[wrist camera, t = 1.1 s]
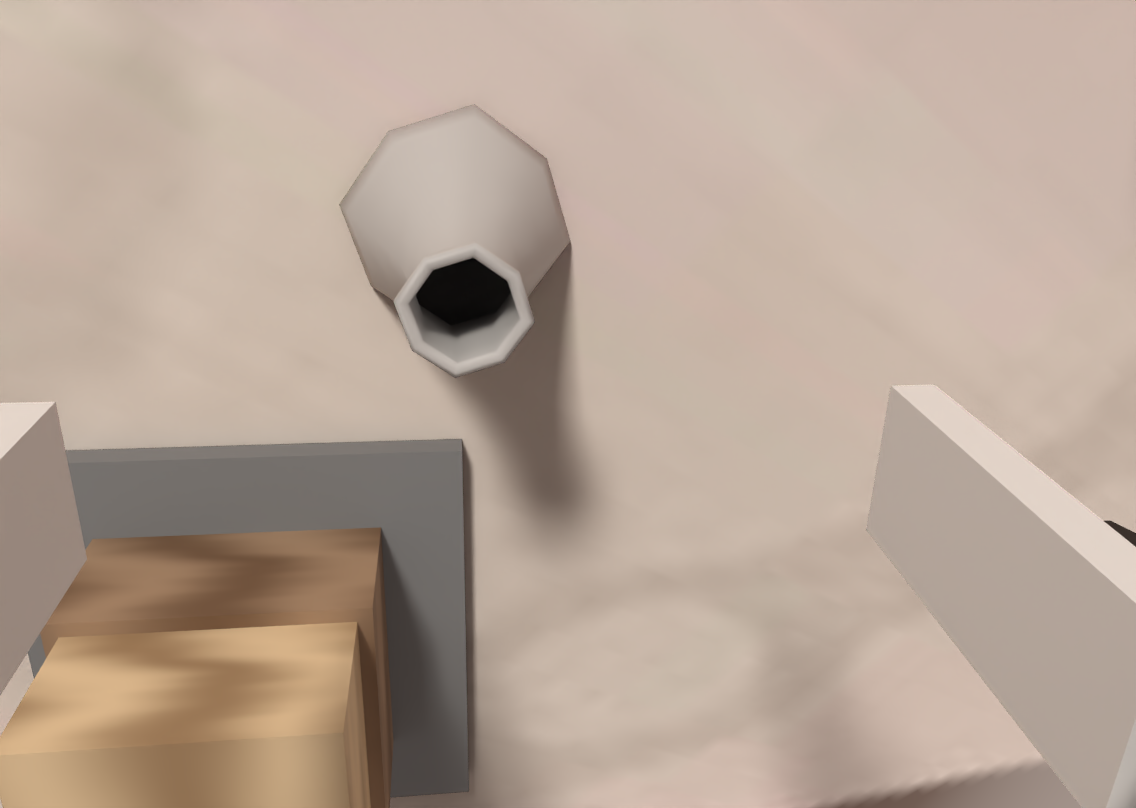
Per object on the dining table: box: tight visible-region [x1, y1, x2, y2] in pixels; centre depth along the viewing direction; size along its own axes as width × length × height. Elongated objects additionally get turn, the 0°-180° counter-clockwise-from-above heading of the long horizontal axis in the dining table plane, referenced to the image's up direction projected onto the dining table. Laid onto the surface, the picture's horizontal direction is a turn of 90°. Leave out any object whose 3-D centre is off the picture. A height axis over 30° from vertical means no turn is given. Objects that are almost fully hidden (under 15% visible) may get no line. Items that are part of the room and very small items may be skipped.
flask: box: [339, 104, 570, 378], centre depth 27 cm, size 7×7×10 cm
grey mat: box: [28, 439, 469, 797], centre depth 37 cm, size 16×16×1 cm
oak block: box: [0, 622, 371, 808], centre depth 29 cm, size 9×9×5 cm
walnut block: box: [40, 527, 393, 808], centre depth 34 cm, size 10×10×5 cm
